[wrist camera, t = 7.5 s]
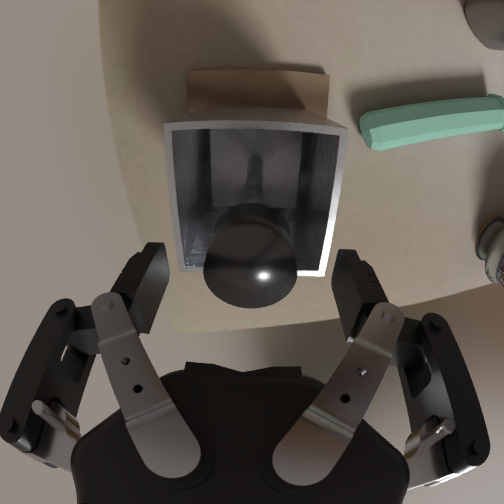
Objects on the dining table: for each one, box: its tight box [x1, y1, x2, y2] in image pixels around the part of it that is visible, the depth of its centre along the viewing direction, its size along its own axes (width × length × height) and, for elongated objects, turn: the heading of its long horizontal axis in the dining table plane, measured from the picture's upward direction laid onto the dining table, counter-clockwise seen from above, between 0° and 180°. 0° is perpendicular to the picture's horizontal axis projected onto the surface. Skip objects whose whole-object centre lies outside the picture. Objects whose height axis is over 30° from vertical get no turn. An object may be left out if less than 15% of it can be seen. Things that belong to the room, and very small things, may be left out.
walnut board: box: [187, 69, 329, 118], centre depth 31 cm, size 20×16×1 cm
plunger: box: [203, 129, 302, 308], centre depth 19 cm, size 8×8×17 cm
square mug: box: [163, 106, 348, 276], centre depth 25 cm, size 14×11×16 cm
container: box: [359, 94, 504, 151], centre depth 25 cm, size 6×6×25 cm
